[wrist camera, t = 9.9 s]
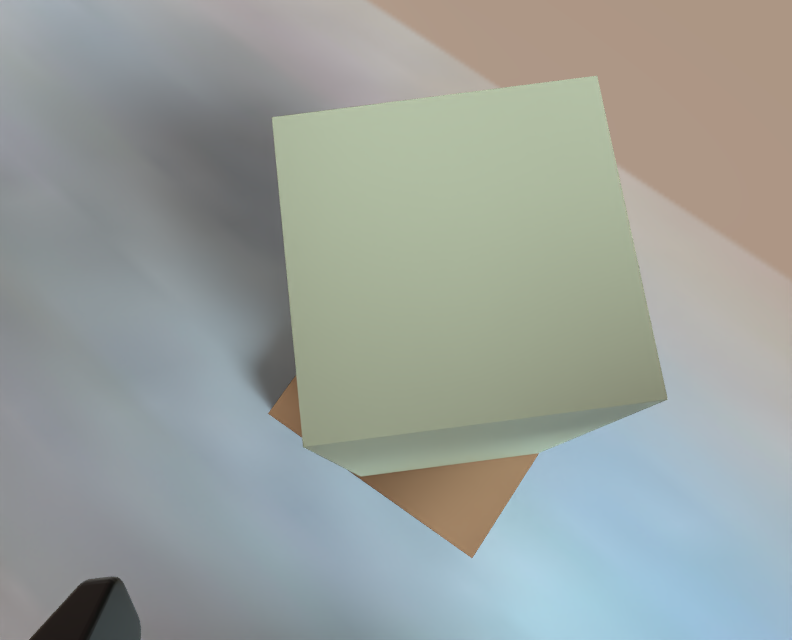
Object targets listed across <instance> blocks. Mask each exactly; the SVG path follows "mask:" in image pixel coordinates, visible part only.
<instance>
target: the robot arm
mask: <svg viewBox="0 0 792 640" xmlns="http://www.w3.org/2000/svg"><path fill="white" fill-rule="evenodd" d="M140 638H141V626H140V620H139V617H138V614H137V612H136V610H135V608H134V605H133V603H132V601H131V599H130V596H129V594H128V592H127V590H126V587H125V585H124V583H123V582H122V580H121V579H119V578H118V577H104V578H95V579H88V580H86V581H84V582H83V583H81V584H80V585H79V586H78V587H77V588H76V589H75V590H74V591H73V592H72V593H71V594H70V596H69V597H68V598H67V599H66V600H65V601H64V602H63V603H62V604H61V605H60V606H59V608H58V609H57V610H56V611H55V612H54V613H53V614H52V615H51V616H50V617H49V618H48V620H47V621H46V622H45V623H44V624H43V625H42V626H41V627H40V628H39V629H38V630H37V632H36V633H35V634H34V635H33V636H32V637H31V638H30V639H29V640H140Z"/></svg>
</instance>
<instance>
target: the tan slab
mask: <svg viewBox="0 0 792 640" xmlns="http://www.w3.org/2000/svg"><path fill="white" fill-rule="evenodd" d="M268 414H269V415H271V416H272V417H274V418H275V419H276V420H278V421H279V422H281V423H282V424H284V425H285V426H286V427H288V428H289V429H291V430H292V431H293V432H295V433H296V434H298V435H299V436H300V437H302V429H301V419H300V408H299V398H298V387H297V377H296V376H295V377H294V378H293V380H292V381H291V383H290V384H289V385H288V387H287V388H286V390H285V391H284V392H283V394H282V395H281V397H280V398H279V399H278V401H277V402H276V403H275V405H274V406H273V408H272V409H271V410H270V412H269V413H268ZM538 454H539V453H537V454H530V455H522V456H514V457H507V458H499V459H491V460H484V461H476V462H468V463H461V464H453V465H445V466H438V467H430V468H422V469H415V470H407V471H400V472H392V473H384V474H377V475H369V476H359V475H357V474H355V473H353V472H351V471H350V472H351V473H353V474H354V475H355V476H357V477H358V478H360V479H361V480H362V481H364V482H365V483H367V484H368V485H370V486H371V487H372V488H374V489H375V490H377V491H378V492H379V493H381V494H382V495H384V496H385V497H386V498H388V499H389V500H391V501H392V502H394V503H395V504H396V505H398V506H399V507H401V508H402V509H403V510H405V511H406V512H408V513H409V514H410V515H412V516H413V517H415V518H416V519H417V520H419V521H420V522H422V523H423V524H425V525H426V526H427V527H429V528H430V529H432V530H433V531H434V532H436V533H437V534H439V535H440V536H441V537H443V538H444V539H446V540H447V541H449V542H450V543H451V544H453V545H454V546H456V547H457V548H458V549H460V550H461V551H463V552H464V553H465V554H467V555H468V556H470V557H471V558H473V556H474V555H475V553H476V551H477V550H478V548H479V547H480V545H481V544H482V542H483V540H484V539H485V537H486V536H487V534H488V533H489V531H490V529H491V528H492V526H493V525H494V523H495V522H496V520H497V518H498V517H499V515H500V514H501V512H502V511H503V509H504V507H505V506H506V504H507V503H508V501H509V500H510V498H511V496H512V495H513V493H514V492H515V490H516V489H517V487H518V485H519V484H520V482H521V481H522V479H523V478H524V476H525V474H526V473H527V471H528V470H529V468H530V467H531V465H532V463H533V462H534V460H535V459H536V457H537V456H538ZM348 471H349V470H348Z"/></svg>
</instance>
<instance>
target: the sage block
mask: <svg viewBox="0 0 792 640" xmlns="http://www.w3.org/2000/svg"><path fill="white" fill-rule="evenodd" d="M272 125H273V135H274V146H275V156H276V167H277V177H278V188H279V198H280V209H281V219H282V230H283V240H284V251H285V261H286V272H287V282H288V293H289V303H290V314H291V324H292V335H293V345H294V356H295V366H296V377H297V387H298V398H299V408H300V419H301V429H302V440H303V447H304V448H306V449H308V450H310V451H312V452H314V453H316V454H318V455H320V456H322V457H324V458H326V459H328V460H329V461H331V462H333V463H335V464H337V465H339V466H341V467H343V468H345V469H347V470H349V471H351V472H353V473H355V474H357V475H359V476H369V475H377V474H384V473H392V472H400V471H407V470H415V469H422V468H430V467H438V466H445V465H453V464H461V463H468V462H476V461H484V460H491V459H499V458H507V457H514V456H522V455H530V454H537V453H540V452H542V451H545V450H547V449H550V448H552V447H554V446H557V445H559V444H562V443H564V442H566V441H569V440H571V439H574V438H576V437H578V436H581V435H583V434H586V433H588V432H591V431H593V430H595V429H598V428H600V427H603V426H605V425H607V424H610V423H612V422H615V421H617V420H619V419H622V418H624V417H627V416H629V415H631V414H634V413H636V412H639V411H641V410H643V409H646V408H648V407H651V406H653V405H656V404H658V403H660V402H663V401H665V400H668V399H667V394H666V390H665V385H664V381H663V376H662V371H661V367H660V362H659V358H658V353H657V348H656V344H655V339H654V335H653V330H652V326H651V321H650V316H649V312H648V307H647V303H646V298H645V293H644V289H643V284H642V280H641V275H640V270H639V266H638V261H637V257H636V252H635V248H634V243H633V238H632V234H631V229H630V225H629V220H628V215H627V211H626V206H625V202H624V197H623V193H622V188H621V183H620V179H619V174H618V170H617V165H616V160H615V156H614V151H613V147H612V143H611V138H610V134H609V128H608V124H607V119H606V115H605V110H604V106H603V101H602V96H601V92H600V87H599V83H598V78H597V76H593V77H584V78H577V79H569V80H561V81H552V82H546V83H537V84H529V85H521V86H513V87H505V88H498V89H490V90H482V91H474V92H466V93H458V94H451V95H443V96H435V97H427V98H419V99H411V100H403V101H396V102H388V103H380V104H372V105H364V106H356V107H349V108H341V109H333V110H325V111H317V112H309V113H302V114H294V115H286V116H278V117H272Z"/></svg>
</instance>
